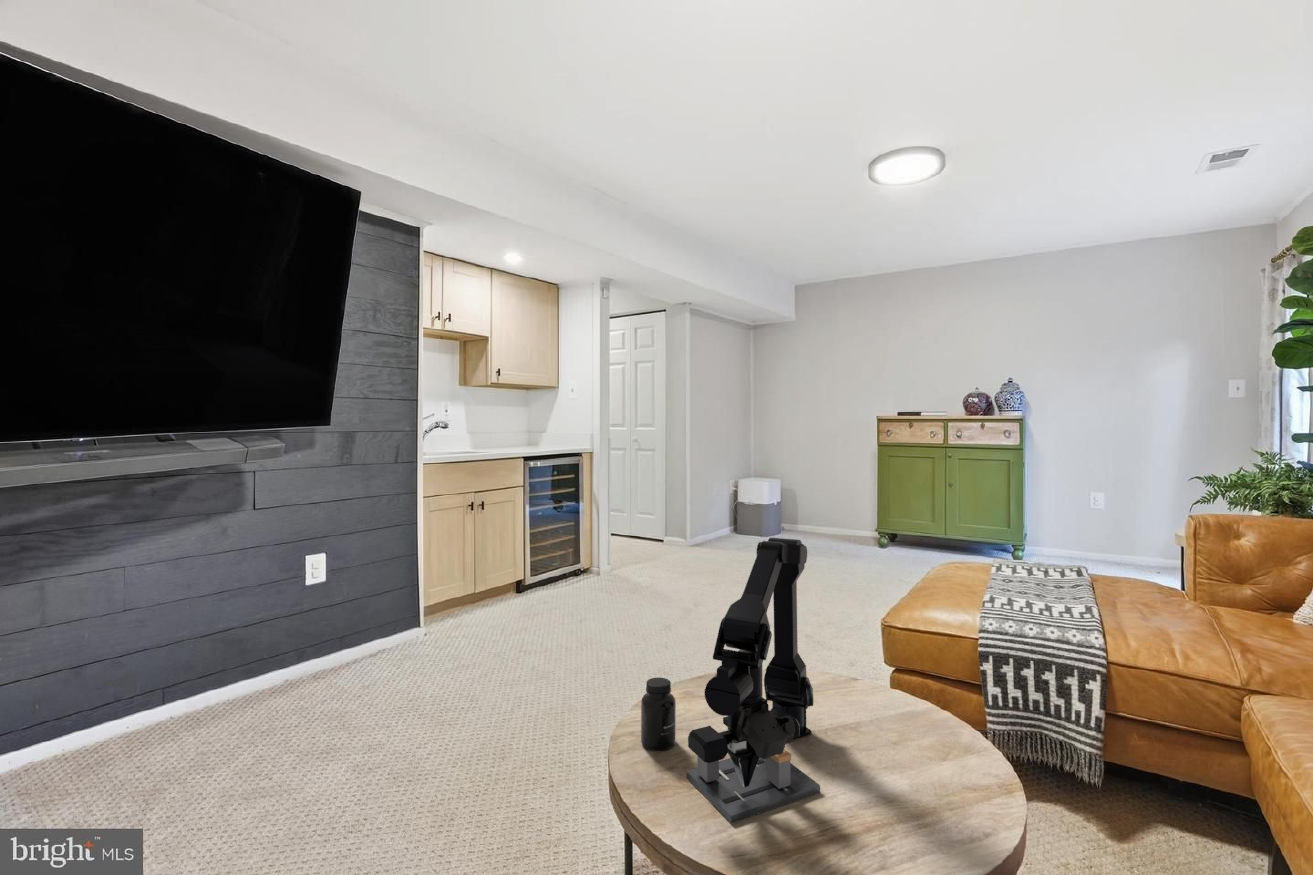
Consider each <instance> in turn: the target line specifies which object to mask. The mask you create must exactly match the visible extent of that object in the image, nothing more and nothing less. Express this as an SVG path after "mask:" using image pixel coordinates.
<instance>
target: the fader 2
mask: <svg viewBox="0 0 1313 875" xmlns="http://www.w3.org/2000/svg"><path fill="white" fill-rule="evenodd" d="M791 761H792V753H790V752H789V751H787V750H786V749H785V748H784V751H783V753H782V754H780V755H778V754H777V755H774V756H770V757H769V758H767V779H768V780H769V781H770V782H771V783H773V784H774V785H775V786H776V787H777V788H779V789H780V788H783V787H786V786H789V785H790V763H791Z"/></svg>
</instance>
